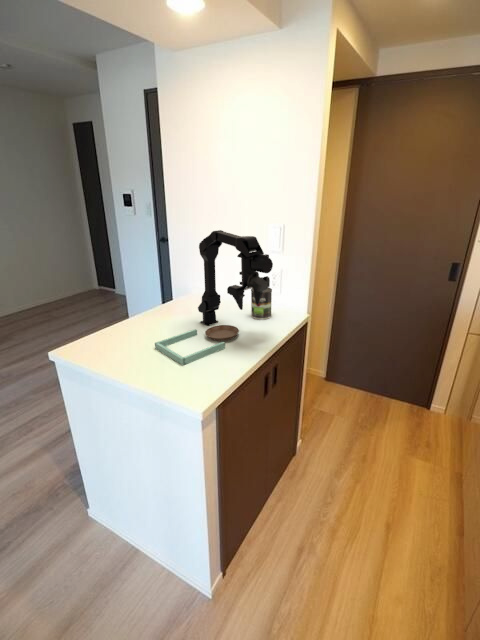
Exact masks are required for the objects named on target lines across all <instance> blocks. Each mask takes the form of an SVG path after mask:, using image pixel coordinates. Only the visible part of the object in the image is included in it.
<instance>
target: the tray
mask: <svg viewBox="0 0 480 640" xmlns="http://www.w3.org/2000/svg"><path fill="white" fill-rule="evenodd" d="M197 335H198V329H197V328H195V329H192V330H189V331H186V332H183V333H180V334H177V335H173V336H171V337H168V338H164V339H162V340H159V341H156V342H154V348H155V350H157V351H159V352H160V353H162V354H164V355H165V356H167V357H169V358H171V360H173V361H175V362H176V363H178V364H180V365H181V366H185V365H188V364H190V363H193V362H195V361H197V360H199V359H202V358H204V357H207V356H210V355H211V354H214V353H216V352H219V351H222V350H224V349H225V348H226V345H225V344H226V341H220V342H218V343H216V344H214V345H211V346H209V347H208V346H207V347H206V348H204V349H203V348H202V349H201V350H198V351H195V352H193V353H191V354H188V355H186V356H182V355H180V354H178V353H177V352H175V351H173V350H171V348H168V347H167V346H170V345H173V344H175V343H180V342H181V341H184V340H187V339H190V338H192V337H196V336H197Z"/></svg>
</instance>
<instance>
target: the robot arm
mask: <svg viewBox="0 0 480 640" xmlns="http://www.w3.org/2000/svg"><path fill="white" fill-rule="evenodd" d="M223 244H226V245H229V246H232V247H234V248H235V249H236V250H237V252H239V253H238V255H237V258H240V259H241V261H240V262H241V263H240V265H241V271H239V275H240V276H241V281H239V285H238V284H234V285H229V286H228V287H227V288H226V289H227V290H226V291H227V294H228V295H230V296H232V298H233V299H234V300H235V302H236V304H237V306H238V309H239V310H241V311H242V310H243V307H244V305H243V304H244V299H243V298H244V297H245V296H246V294H244V293H245V291H247V290H251V289H252V288H253V290H254V296H255V302H256V304H257V305H258V304H259V301H260V298H261V295H262V293H263V291H265V290H266V289H267V287H269V288H271V287H270V284H271V281H270V277H269V276H263V277H260V275H259V273H264V274H269V273H270V272H271V271H272V270H273V266H274V264H273V260H272V258H270V256H269V255H270V254H266V253H264V251H263V249H262V247H261V245H260V243H259V241H258V238H257V237H256V236H252V235H242V236H240V235H237V234H234V233H230V232H227V231H224V230H222V229H219V230H213V231H211V233H210V234H209V235H207V236H206V237H204V238H203V239H202V240H201V241H200V242H199V245H198V249H199V250H198V251H199V255H200V256H201V258H202V259H203V270H204V271H203V274H204V292H203V294H202V296H201V303H200V304H199V305H198V307H197V311H198V312H199V313H201V314H202V320H201V321H200V323H201V324H203V325H206V326H208V327H210V326H212V325H215V324H217V323H219V320H217V315H216V311H218V310H219V308H220V305H221V294H218V292H217V289H216V259H217V257H218V255H219V248H220V247H221V246H222V245H223Z"/></svg>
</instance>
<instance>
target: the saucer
mask: <svg viewBox="0 0 480 640" xmlns="http://www.w3.org/2000/svg"><path fill="white" fill-rule="evenodd" d="M239 332H240V329H239V328H238V327H237V326H234V325H230V324H219V325H214V326H211V327H209V328H207V329H206V330H205V331H204V334H205V335H206V337H208V339H210V340H212V341H214V342H226V341H230V340H233V339H234V338H235V337H236V336H237V335H239Z"/></svg>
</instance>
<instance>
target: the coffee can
mask: <svg viewBox="0 0 480 640" xmlns="http://www.w3.org/2000/svg"><path fill="white" fill-rule="evenodd" d="M272 292H273V289H272V288H271V287H267V289H266V290H265V291H263V293H262V295H261V298H260V301H259V304H258V305H257V304H256V302H255V296H254V290H253V288H251V289H250V295H251V296H250V297H251V307H250V308H251V311H250V312H251V315H250V317H252V319H255V320H259V321H260V320H262V321H263V320H268V319H271V317H272V299H273V298H272V295H273V294H272Z"/></svg>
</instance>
